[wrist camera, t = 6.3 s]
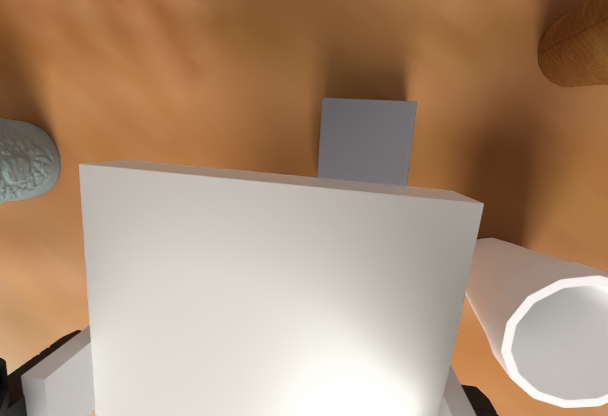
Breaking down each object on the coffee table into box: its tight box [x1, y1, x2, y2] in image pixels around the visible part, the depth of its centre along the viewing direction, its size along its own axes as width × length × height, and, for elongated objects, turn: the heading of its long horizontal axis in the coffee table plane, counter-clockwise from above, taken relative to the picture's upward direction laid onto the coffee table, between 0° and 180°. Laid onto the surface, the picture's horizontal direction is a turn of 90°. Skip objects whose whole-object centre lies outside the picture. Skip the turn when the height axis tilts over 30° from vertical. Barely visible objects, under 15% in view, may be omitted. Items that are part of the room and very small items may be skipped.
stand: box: [317, 98, 417, 186], centre depth 30 cm, size 8×8×4 cm
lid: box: [79, 160, 484, 416], centre depth 12 cm, size 12×15×2 cm
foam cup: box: [465, 238, 608, 408], centre depth 26 cm, size 10×9×13 cm
